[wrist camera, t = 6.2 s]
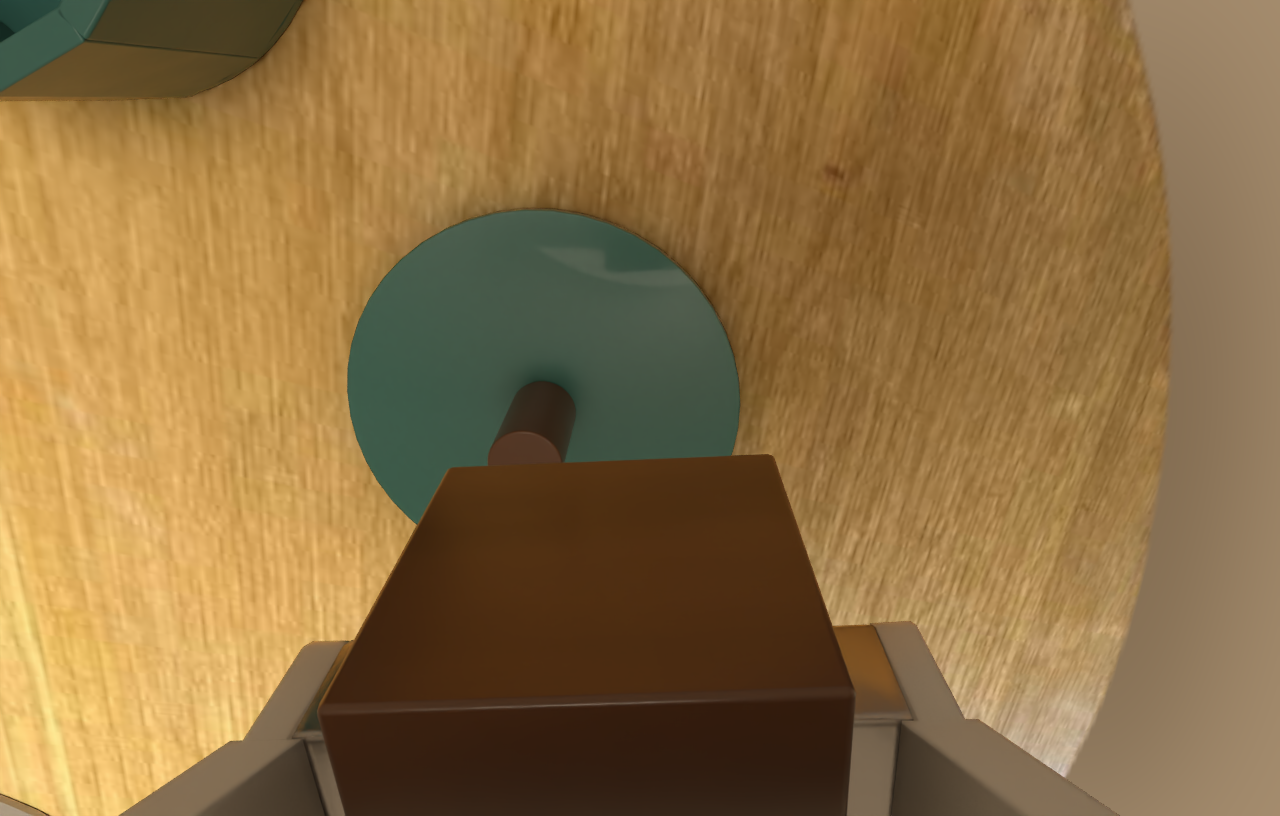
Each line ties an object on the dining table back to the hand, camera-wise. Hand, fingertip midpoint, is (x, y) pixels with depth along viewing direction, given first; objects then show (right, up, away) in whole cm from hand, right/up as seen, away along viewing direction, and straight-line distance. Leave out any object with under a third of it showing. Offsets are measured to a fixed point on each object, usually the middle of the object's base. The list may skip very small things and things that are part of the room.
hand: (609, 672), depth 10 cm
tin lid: (-3, +3, +19) cm, 19 cm away
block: (0, +1, +2) cm, 2 cm away
